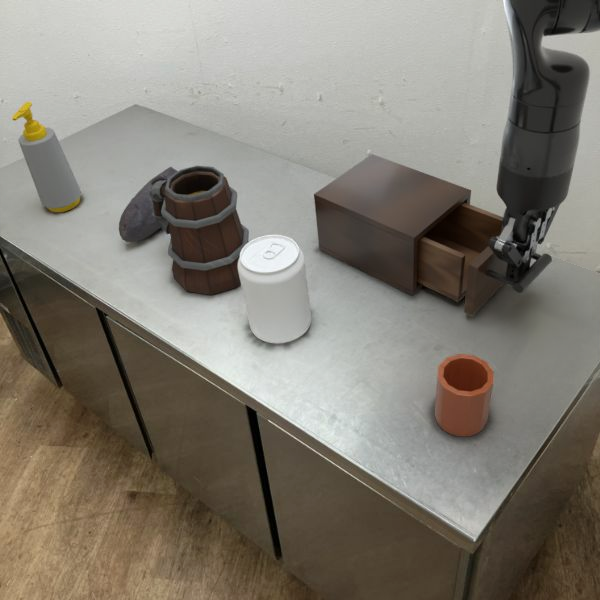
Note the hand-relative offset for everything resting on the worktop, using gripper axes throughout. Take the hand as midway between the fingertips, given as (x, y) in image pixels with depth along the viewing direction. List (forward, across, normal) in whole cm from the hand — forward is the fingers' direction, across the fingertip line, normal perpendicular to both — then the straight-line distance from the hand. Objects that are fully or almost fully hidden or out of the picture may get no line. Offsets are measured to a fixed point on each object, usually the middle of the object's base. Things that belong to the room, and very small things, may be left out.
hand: (516, 278), depth 80 cm
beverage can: (+5, -21, +22) cm, 30 cm away
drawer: (+4, 0, +8) cm, 9 cm away
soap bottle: (+5, -23, +72) cm, 76 cm away
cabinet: (+4, 0, +19) cm, 20 cm away
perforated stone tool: (+5, -17, +54) cm, 56 cm away
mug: (+5, -19, +40) cm, 44 cm away
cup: (+4, -19, -4) cm, 20 cm away
